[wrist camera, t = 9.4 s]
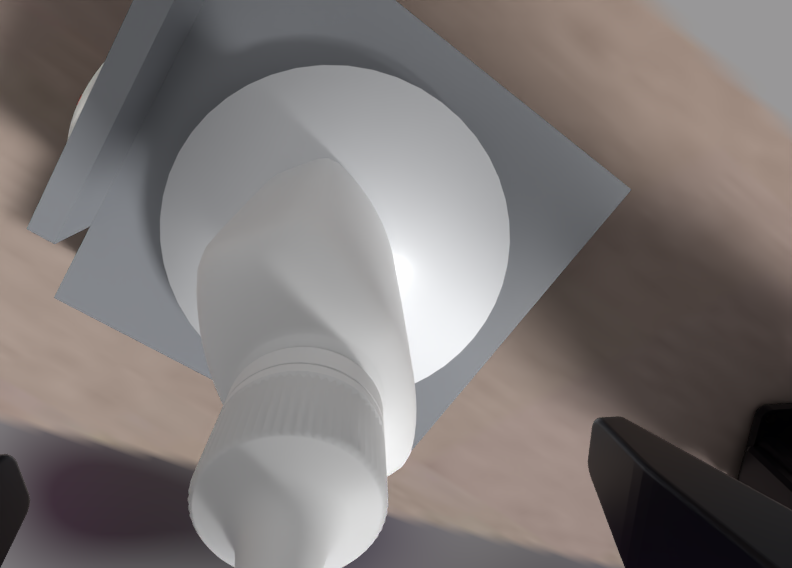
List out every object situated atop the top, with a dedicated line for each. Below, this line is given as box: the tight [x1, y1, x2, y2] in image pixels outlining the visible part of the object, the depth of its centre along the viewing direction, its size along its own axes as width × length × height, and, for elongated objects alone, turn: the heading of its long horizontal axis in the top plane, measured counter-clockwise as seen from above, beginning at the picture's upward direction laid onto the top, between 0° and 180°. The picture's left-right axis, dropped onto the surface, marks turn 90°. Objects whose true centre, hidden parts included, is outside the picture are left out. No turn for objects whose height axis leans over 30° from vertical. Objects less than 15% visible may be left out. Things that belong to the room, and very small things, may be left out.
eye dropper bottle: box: [188, 158, 416, 568], centre depth 10 cm, size 4×6×12 cm
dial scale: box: [27, 0, 631, 451], centre depth 17 cm, size 15×14×5 cm
